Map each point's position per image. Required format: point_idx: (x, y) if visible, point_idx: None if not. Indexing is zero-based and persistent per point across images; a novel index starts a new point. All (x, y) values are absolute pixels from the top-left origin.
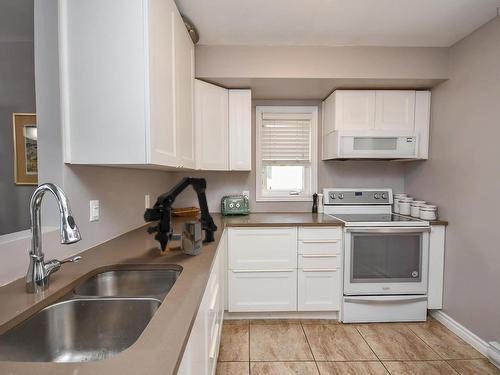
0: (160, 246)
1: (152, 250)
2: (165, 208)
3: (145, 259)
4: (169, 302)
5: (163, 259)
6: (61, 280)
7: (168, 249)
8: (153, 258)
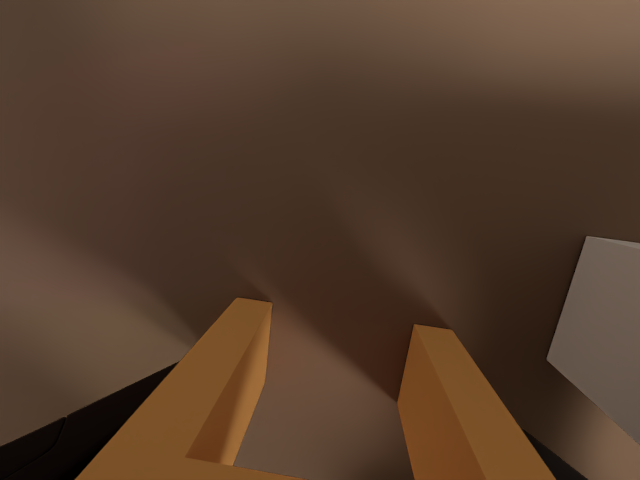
0: (616, 296)
1: (533, 138)
2: None
3: (23, 96)
4: None
5: (25, 342)
6: None
7: (402, 420)
8: (67, 212)
